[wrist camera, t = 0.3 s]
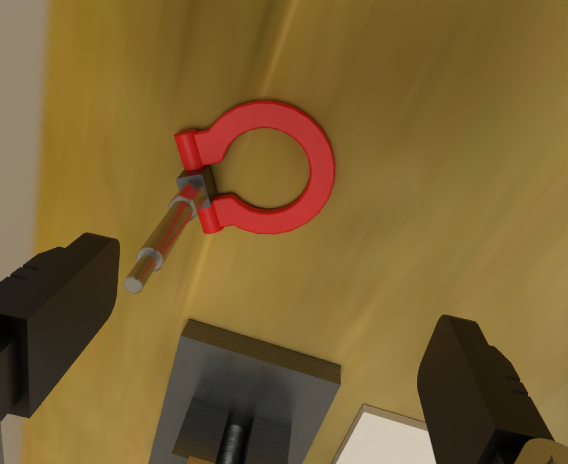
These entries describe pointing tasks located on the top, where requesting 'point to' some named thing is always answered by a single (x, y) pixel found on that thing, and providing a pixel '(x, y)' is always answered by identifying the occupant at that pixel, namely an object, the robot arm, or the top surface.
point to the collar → (197, 461)
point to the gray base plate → (241, 400)
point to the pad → (385, 440)
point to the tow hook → (229, 208)
